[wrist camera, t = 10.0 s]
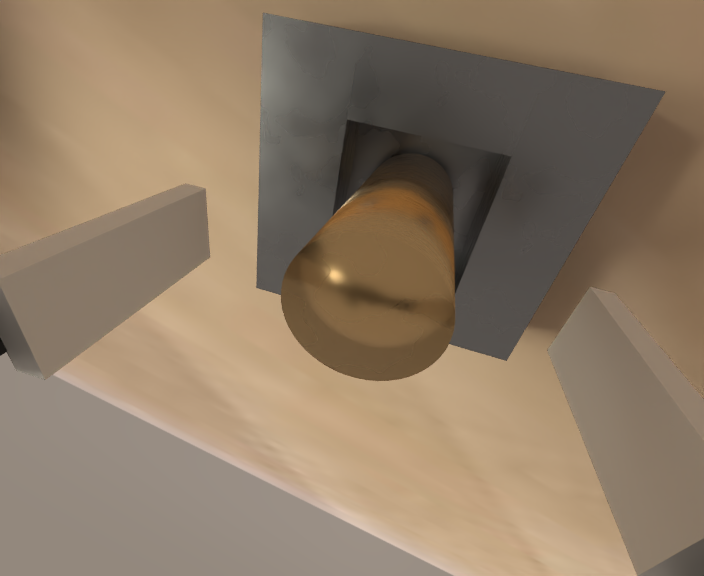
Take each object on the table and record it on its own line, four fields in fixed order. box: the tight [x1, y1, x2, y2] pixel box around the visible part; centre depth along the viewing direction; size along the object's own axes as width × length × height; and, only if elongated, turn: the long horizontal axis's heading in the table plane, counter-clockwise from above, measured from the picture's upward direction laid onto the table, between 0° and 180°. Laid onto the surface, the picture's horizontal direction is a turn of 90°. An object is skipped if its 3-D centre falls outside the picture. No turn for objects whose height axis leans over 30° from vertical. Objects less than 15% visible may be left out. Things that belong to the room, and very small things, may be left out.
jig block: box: [256, 13, 665, 361], centre depth 19 cm, size 16×14×4 cm
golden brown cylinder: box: [281, 153, 455, 381], centre depth 15 cm, size 5×5×12 cm
